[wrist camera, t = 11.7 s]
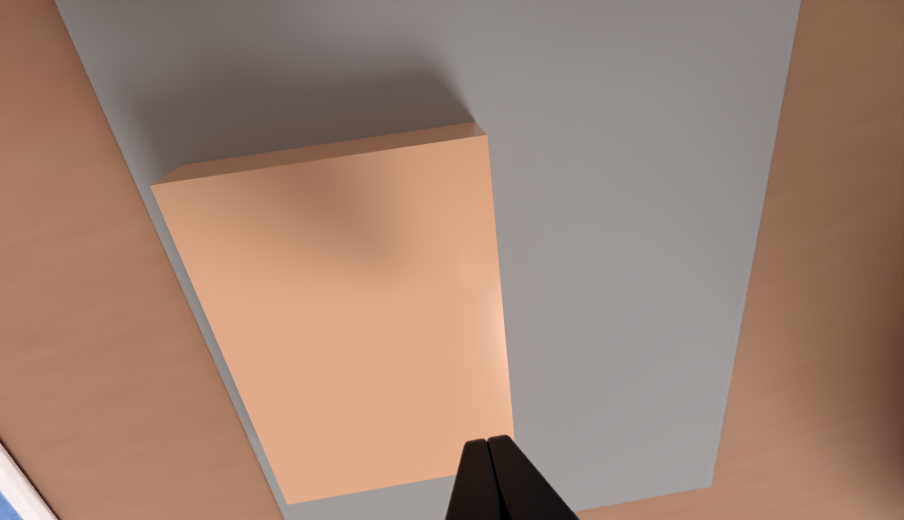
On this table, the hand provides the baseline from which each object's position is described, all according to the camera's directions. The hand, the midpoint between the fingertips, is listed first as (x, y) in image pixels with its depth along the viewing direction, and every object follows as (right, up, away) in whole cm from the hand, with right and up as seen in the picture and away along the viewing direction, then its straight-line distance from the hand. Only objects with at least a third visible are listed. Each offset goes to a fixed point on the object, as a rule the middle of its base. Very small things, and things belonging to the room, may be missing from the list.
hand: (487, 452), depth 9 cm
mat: (0, +3, +5) cm, 6 cm away
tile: (+1, +2, +4) cm, 4 cm away
